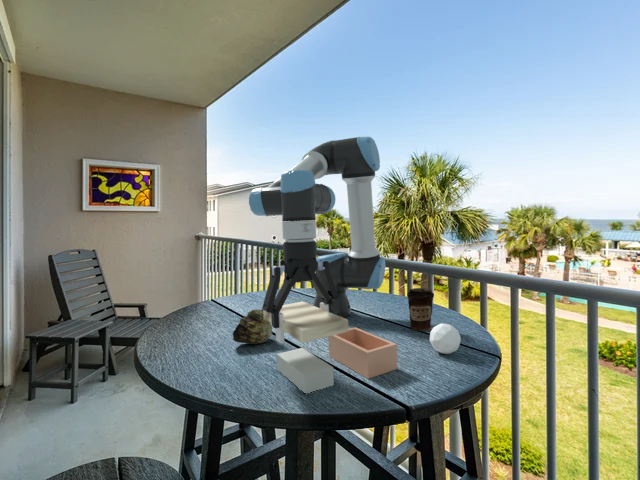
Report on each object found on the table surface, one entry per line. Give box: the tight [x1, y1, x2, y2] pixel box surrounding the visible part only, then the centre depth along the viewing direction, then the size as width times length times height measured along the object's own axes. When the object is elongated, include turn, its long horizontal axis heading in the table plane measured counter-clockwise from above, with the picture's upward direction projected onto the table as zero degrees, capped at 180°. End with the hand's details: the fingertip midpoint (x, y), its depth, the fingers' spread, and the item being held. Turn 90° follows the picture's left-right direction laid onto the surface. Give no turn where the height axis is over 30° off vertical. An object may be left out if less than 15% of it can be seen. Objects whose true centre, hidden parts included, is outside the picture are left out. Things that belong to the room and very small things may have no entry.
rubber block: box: [276, 347, 335, 394], centre depth 77 cm, size 14×7×4 cm, turn 32°
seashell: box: [232, 308, 273, 345], centre depth 101 cm, size 11×11×10 cm
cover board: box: [263, 300, 349, 344], centre depth 76 cm, size 20×11×2 cm, turn 32°
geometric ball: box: [429, 323, 461, 355], centre depth 89 cm, size 8×8×8 cm
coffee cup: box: [407, 287, 435, 332], centre depth 108 cm, size 9×8×13 cm
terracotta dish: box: [328, 327, 398, 380], centre depth 84 cm, size 16×9×6 cm, turn 32°
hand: (303, 335), depth 77 cm, fingers closed on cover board, 11 cm apart
